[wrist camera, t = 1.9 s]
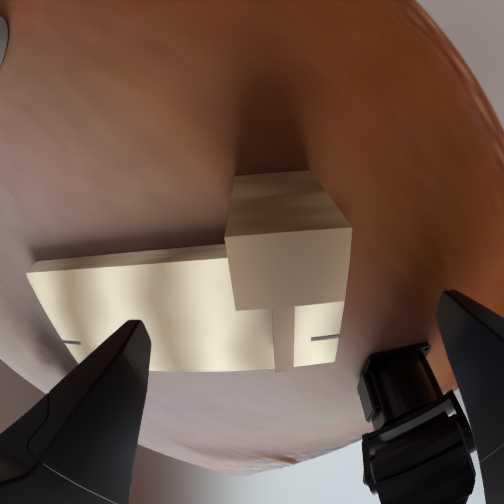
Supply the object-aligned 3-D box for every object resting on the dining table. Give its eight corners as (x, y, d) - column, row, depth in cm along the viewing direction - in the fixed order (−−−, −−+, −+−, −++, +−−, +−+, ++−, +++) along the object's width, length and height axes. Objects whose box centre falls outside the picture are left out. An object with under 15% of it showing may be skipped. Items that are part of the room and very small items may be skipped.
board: (342, 234, 17) (351, 248, 15) (330, 346, 22) (334, 362, 20) (36, 261, 17) (25, 273, 16) (84, 351, 22) (78, 364, 21)
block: (309, 170, 15) (352, 227, 9) (306, 332, 21) (322, 413, 15) (234, 176, 15) (224, 237, 9) (253, 337, 21) (255, 420, 15)
